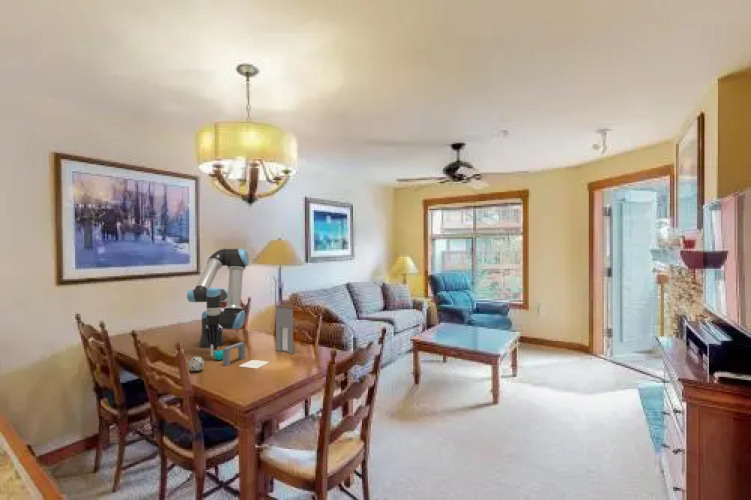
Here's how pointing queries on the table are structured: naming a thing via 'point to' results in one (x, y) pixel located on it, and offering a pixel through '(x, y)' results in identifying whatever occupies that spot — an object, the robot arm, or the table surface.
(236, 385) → the table surface
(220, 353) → the ball
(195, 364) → the game die
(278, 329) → the cabinet
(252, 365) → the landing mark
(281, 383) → the table surface
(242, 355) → the bridge
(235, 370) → the table surface
